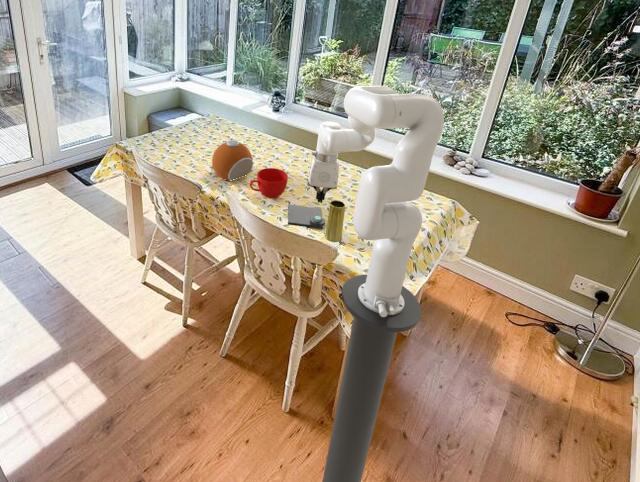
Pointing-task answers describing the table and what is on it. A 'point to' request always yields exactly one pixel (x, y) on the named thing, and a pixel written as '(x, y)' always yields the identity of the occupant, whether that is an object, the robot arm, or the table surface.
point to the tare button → (317, 219)
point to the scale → (305, 216)
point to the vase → (335, 221)
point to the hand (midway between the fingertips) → (319, 200)
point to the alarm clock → (232, 160)
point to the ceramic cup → (271, 182)
